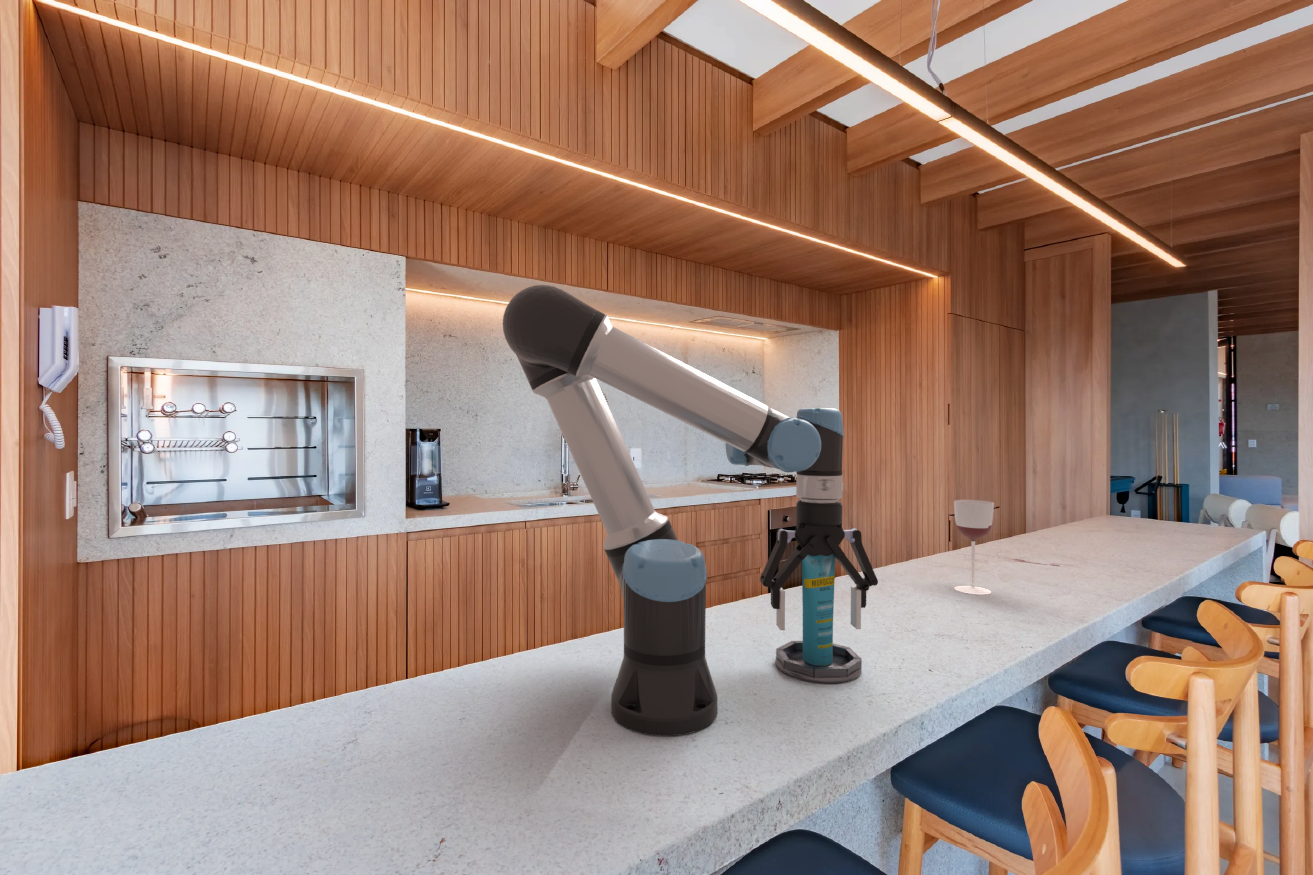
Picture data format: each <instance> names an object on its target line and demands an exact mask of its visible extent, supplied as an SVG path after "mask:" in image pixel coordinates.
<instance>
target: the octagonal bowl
mask: <svg viewBox="0 0 1313 875" xmlns="http://www.w3.org/2000/svg"><path fill="white" fill-rule="evenodd" d="M775 653H776V654H775V666H776V668H777V669H778V671H780V672H781V673H783V674H784V675H786V676H788V677H790V678H793V679H795V680H798V681H803V682H807V683H813V684H820V685H821V684H822V685H836V684H837V685H838V684H845V683H846V684H847V683H850V682H853V681H855V680H857V679H858V678H859V677H860V676H861V675H862V664H863V663H862V662H863V661H862V657H860V656H859V655H858V654H857V652H856V651H854V650H853V649H852V648H851V647H850V646H845V645H841V644H837V643H834V642H833V656H832V663H831V664H830V665H827V666H815V665H811V664H808V663H806V662H805V661H804V660H803V640H791V641H789V642H787V643H784V644H782V645H781V646H779V647H777V648H776V649H775Z"/></svg>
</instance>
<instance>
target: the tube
mask: <svg viewBox="0 0 1313 875" xmlns="http://www.w3.org/2000/svg"><path fill="white" fill-rule="evenodd" d="M835 574H836V558H835V556H834V555H833V554H831V555H830V556H823V555H818V556H811V555H809V554H808V555H807V556H806V558H805V559H802V561H801V581H802V582H801V583H802V584H801V585H802V587H801V589H802V596H801V597H802V600H801V601H802V641H803V660H804V661H805V662H806V663H808V664H811V665H815V666H827V665H830V664H831V663H832V656H833V643H834V642H833V640H834V639H833V637H834V609H835V608H834V604H835V600H834V599H835Z"/></svg>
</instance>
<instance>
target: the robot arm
mask: <svg viewBox="0 0 1313 875" xmlns="http://www.w3.org/2000/svg"><path fill="white" fill-rule="evenodd" d="M502 317H503V318H502V331H503V336H504V339H505V341H506V344H507V345H508V346H509V348H510V349H511V350H512V352H513V353H514V354H515V356H516V358H517V360H518V362H519V364H520V367H521V368H522V370H523V373H524V374H525V377H526V380H527V381H528V384H529V386H530V388H531V390H532V392H533V394H536V395H538V396H540V397H542V398H545V399H546V401H547V403H548V405H549V408H550V410H551V412H552V414H553V415H554V416H553V417H554V418H555V420H556V423H557V425H558V427H559V430H560V431H561V434H562V435H563V439H564V440H565V443H566V445H567V448H568V449H569V451H570V453H571V456H572V458H573V460H574V462H575V465H576V467H577V469H578V472H579V473H580V475H581V478H582V480H583V482H584V485H585V488H586V489H587V491H588V494H589V496H590V498H591V500H592V502H593V505H594V507H595V509H596V511H597V514H598V516H599V518H600V520H601V522H602V525H603V527H604V529H605V532H606V537H605V540H604V541H603V544H602V548H603V549H604V552H605V554H606V555H607V558H608V561H609V563H610V565H611V568H612V570H613V572H614V574H615V576H616V578H617V582H618V583H619V585H620V586H619V587H620V591H621V594H622V599H623V658H622V661H621V663H620V664H621V665H620V667H619V670H618V674H617V677H616V680H615V682H614V683H615V684H614V686H613V690H612V692H611V697H610V698H611V699H610V700H611V702H610V703H611V704H610V707H611V709H610V711H611V716H612V718H613V720H615V722H616V723H617V724H618V725H621V726H622V727H623V728H625V729H628V730H630V731H633V732H636V733H638V734H639V733H640V734H643V735H644V734H645V735H649V736H662V737H663V736H664V737H665V736H668V737H669V736H670V737H671V736H681V735H687V734H692V733H694V732H697V731H700V730H702V729H705V728H707V727H708V726H710V725H711V724H712V723H714V721H715V720H716V718H717V715H718V694H717V690H716V688H715V685H714V681H713V678H712V674H711V671H710V668H709V665H708V662H707V657H706V614H707V613H706V604H707V603H706V602H707V601H706V600H707V599H706V594H707V592H706V591H707V590H706V586H707V584H706V583H707V578H708V573H707V571H708V570H707V567H706V559H705V556H704V553H703V552H702V550H701V549H699V548H698V546H695V545H694V544H691V543H686V542H684V541H682V540H679V539H678V537H677V535H676V532H675V530H674V528H673V526H672V524H671V522H670V520H669V516H667V515H664V514H661V513H659V512H657V511H656V510H655V508H654V506H653V504H652V501H651V499H650V497H649V494H648V492H647V490H646V488H645V486H644V484H643V481H642V479H641V476H640V474H639V472H638V470H637V467H636V466H635V462H634V461H633V460H634V459H633V458H632V456H631V454H630V452H629V450H628V447H627V445H626V443H625V440H624V439H623V436H622V433H621V432H620V429H619V427H618V424H617V423H616V420H615V418H614V415H613V414H612V411H611V408H610V407H609V404H608V402H607V400H606V398H605V395H604V394H603V391H602V389H601V386H600V384H599V382H598V381H600V382H603V383H604V384H606V385H608V386H611V387H613V388H614V389H617V390H619V391H620V392H622V393H624V394H626V395H629V396H630V397H633V398H634V399H636V400H638V401H641V402H643V403H645V404H647V405H649V406H650V407H653V408H655V409H657V410H659V411H661V412H663V413H665V414H667V415H669V416H671V417H673V418H675V419H677V420H679V421H681V422H683V423H685V424H688V425H689V426H691V427H693V428H695V429H697V430H699V431H701V432H703V433H705V434H707V435H709V436H712V437H713V438H715V439H717V440H719V441H721V442H723V443H725V454H726V458H727V459H728V461H729V463H730V464H731V465H735V466H745V467H748V466H763V467H766V468H771V469H776V470H780V471H782V472H784V473H796V488H795V489H796V492H795V493H796V495H795V496H796V497H797V498H798V500H797V502H795V505H796V506H795V510H796V511H795V513H796V514H795V523H796V525H795V528H794V530H787V529H783V528H778V529H777V531H776V541H775V544H774V546H773V549H772V550H771V553H770V555H769V558H768V560H767V562H766V564H765V566H764V568H763V571H762V573H761V575H760V577H759V582H760V583H761V584H762V585H763V586H764V587H766V588H769V589H770V605H771V608H772V609H774V610H775V611H776V614H775V615H776V621H775V622H776V623H775V624H776V627H777V628H778V629H779V631H785V630H786V627H785V626H786V619H785V618H786V590H785V589H783V586H784V585H785V583H786V582H787V581H788V579H789V578H790V576H791V575H792V574H793V573H794V572H795V570H796V569H797V567H798V566H799V565H800V564H801V563H802V559H805V558H806V556H807V555H808V554H809V555H811V556H818V555H823V556H830V555H831V554H833V555H834V556H835V560H836V561H837V562H838V563H839V564H840V566H841V567H842V568H843V569H844V571H845V572H846V574H848V576H849V577H850V579H851V581H853V583H854V585H851V586H850V625H851V626H853V628H854V629H855V630H861V629H862V609H865V608H866V606H867V591H868V590H870V587H872V586H878V584H879V581H878V578H877V575H876V574H875V571H874V569H873V567H872V563H871V561H870V559H869V557H868V555H867V552H866V550H865V547H864V545H863V541H862V540H863V539H862V532H861V530H859V529H857V528H854V527H851V528H849V529H843V503H842V502H841V501H840V500H841V499H842V498H843V456H844V455H843V454H844V453H843V452H844V451H843V450H844V437H845V435H844V421H843V415H842V412H841V410H839V409H837V408H834V407H833V408H829V407H824V408H823V407H817V408H815V407H814V408H813V407H812V408H811V407H810V408H807V407H806V408H805V407H804V408H799V409H798V410H797V413H796V417H790V416H788V415H786V414H784V413H782V412H780V411H778V410H776V409H774V408H771V407H769V406H768V405H767V404H765V403H762V402H760V401H759V400H757V399H755V398H753V397H751V396H748V395H746V394H745V393H743V392H741V391H739V390H737V389H736V388H733V387H731V386H729V385H727V384H725V383H723V382H721V381H720V380H718V379H716V378H714V377H713V376H710V375H708V374H706V373H704V372H702V371H701V370H698V369H696V368H694V367H693V366H691V365H688V364H686V363H684V362H683V361H681V360H679V359H677V358H674V357H673V356H671V355H669V354H667V353H666V352H664V351H661V350H659V349H657V348H656V347H653V346H651V345H650V344H648V343H646V342H644V341H642V340H640V339H638V338H635V337H634V336H632V335H630V334H628V333H626V332H624V331H622V330H620V329H618V328H616V327H615V326H613V325H612V323H611V321H610V318H609V315H608V314H605V313H604V312H601V311H600V310H597V309H596V308H594V307H592V306H590V305H589V304H588V303H585V302H584V301H582V300H581V299H578V298H576V297H575V296H573V295H572V294H570V293H569V292H567V291H565V290H564V289H561V288H558V287H556V286H553V285H549V284H548V285H546V284H537V285H532V286H528V287H526V288H523V289H521V290H520V291H519V292H517V293H516V294H515V295H514V296H513V297H512V298H511V299H510V301H509V303H507V305H506V307H505V309H504V313H503V316H502ZM792 539H795V541H796V542H797V543H798V544H797V545H796V546H795V547H794V549H793V551H792V553H791V554H790V555H789V557H788V558H787V560H785V562H784V563H783V565H781V568H780V569H779V570H778V571H777V569H778V567H779V565H780V563H781V560H782V557H783V556H784V553H785V551H786V549H787V545H788V544H789V543H791V541H792ZM844 539H846V541H847V542H848V543H850V546H851V548H852V551H853V553H854V556H855V558H856V560H857V563H858V565H859V567H860V570H861V572H862V574H863V577H862V576H861V573H859V571H858V570H857V568H855V566H854V565H853V564H852V562H851V561H850V560H849V558H848V557H847V555H846V554H845V552H844V551H843V549H842V547H840V544H841V543H842V541H843V540H844ZM776 571H777V572H776Z"/></svg>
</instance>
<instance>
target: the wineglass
mask: <svg viewBox="0 0 1313 875" xmlns="http://www.w3.org/2000/svg"><path fill="white" fill-rule="evenodd" d="M953 509H954V510H953V512H954V521H955V525H956V528H957V530H958V531H959V532H960V533H961V534H962V535H963V536H964V537H965V538H967V539H969V540H970V541H971V549H970V551H971V552H970V553H971V554H970V555H971V556H970V585H958V586H954V590H956V591H957V592H960V593H965V594H970V595H980V596H981V595H990V594H992V591H991V590H990V589H987V588H984V587H980V586H975V585H976V583H975V580H976V578H975V577H976V576H975V574H976V572H975V571H976V541H977V540H979V539H982V538H984V537H985V536H987V535H988V534H989V533H990V530H991V529H992V525H993V521H994V520H993V519H994V511H995V502H993V501H990V500H989V501H987V500H979V499H956V500H953Z"/></svg>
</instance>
